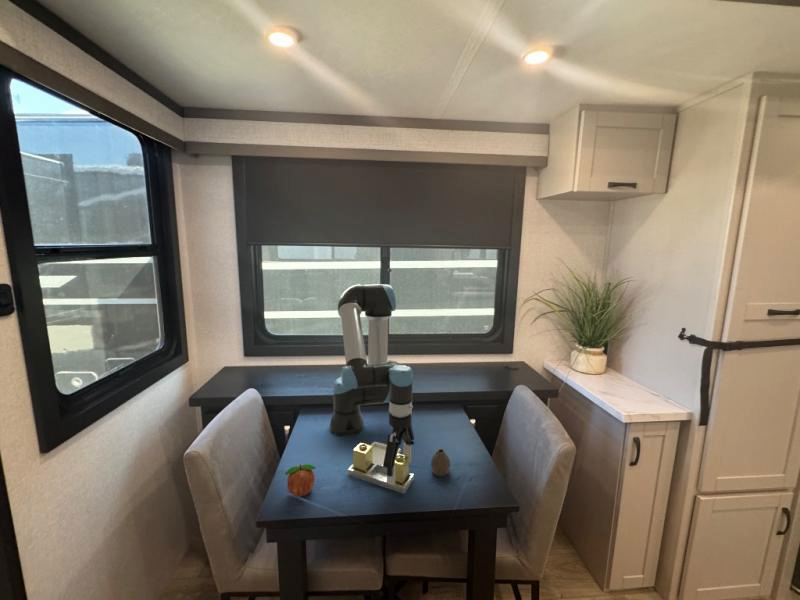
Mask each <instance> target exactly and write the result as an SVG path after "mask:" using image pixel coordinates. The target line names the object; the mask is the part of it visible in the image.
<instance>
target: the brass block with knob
mask: <svg viewBox="0 0 800 600" xmlns="http://www.w3.org/2000/svg"><path fill="white" fill-rule="evenodd" d="M370 445H371V444H367V443H364V442H363V443H362V442H360V443H359V444H357V445H356V447H354V448H353V452H352V465H353V469H354V470H357V471H360V472H363V473H367V472H368V471H369V470H370V468H371V467H372V456H373V446H370Z"/></svg>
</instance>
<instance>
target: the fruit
mask: <svg viewBox="0 0 800 600" xmlns="http://www.w3.org/2000/svg"><path fill="white" fill-rule="evenodd" d="M315 469H316V466H315V465H313V464H304V465H303V464H299V465H297V466H292V467H290V468H289V469H288V470H286V471H285V473H284V474H285V476H287V480H286V481H287V482H286V483H287V484H286V486H287V489H288V491H289V493H290V494H291V495H292V496H294V497H297V498H300V497H304V496H306V495H308V494H309V493H310V492H311V491H312V489H313V488H314V485H315V477H316V476H315V473H314V472H313V470H315Z"/></svg>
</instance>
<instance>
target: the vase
mask: <svg viewBox="0 0 800 600" xmlns="http://www.w3.org/2000/svg"><path fill="white" fill-rule="evenodd" d="M430 469H431V471H432V473H433V474H434V475H435V476H437V477H445V476H447V475H448V474H449V472H450V469H451V461H450V458H449V456H448V454H447V453H446V451H445V450H444V449H443V448H442V449H441V448H439V449H438V450H437V451H436V452H435V453H434V454H433V456H432V458H431V461H430Z"/></svg>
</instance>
